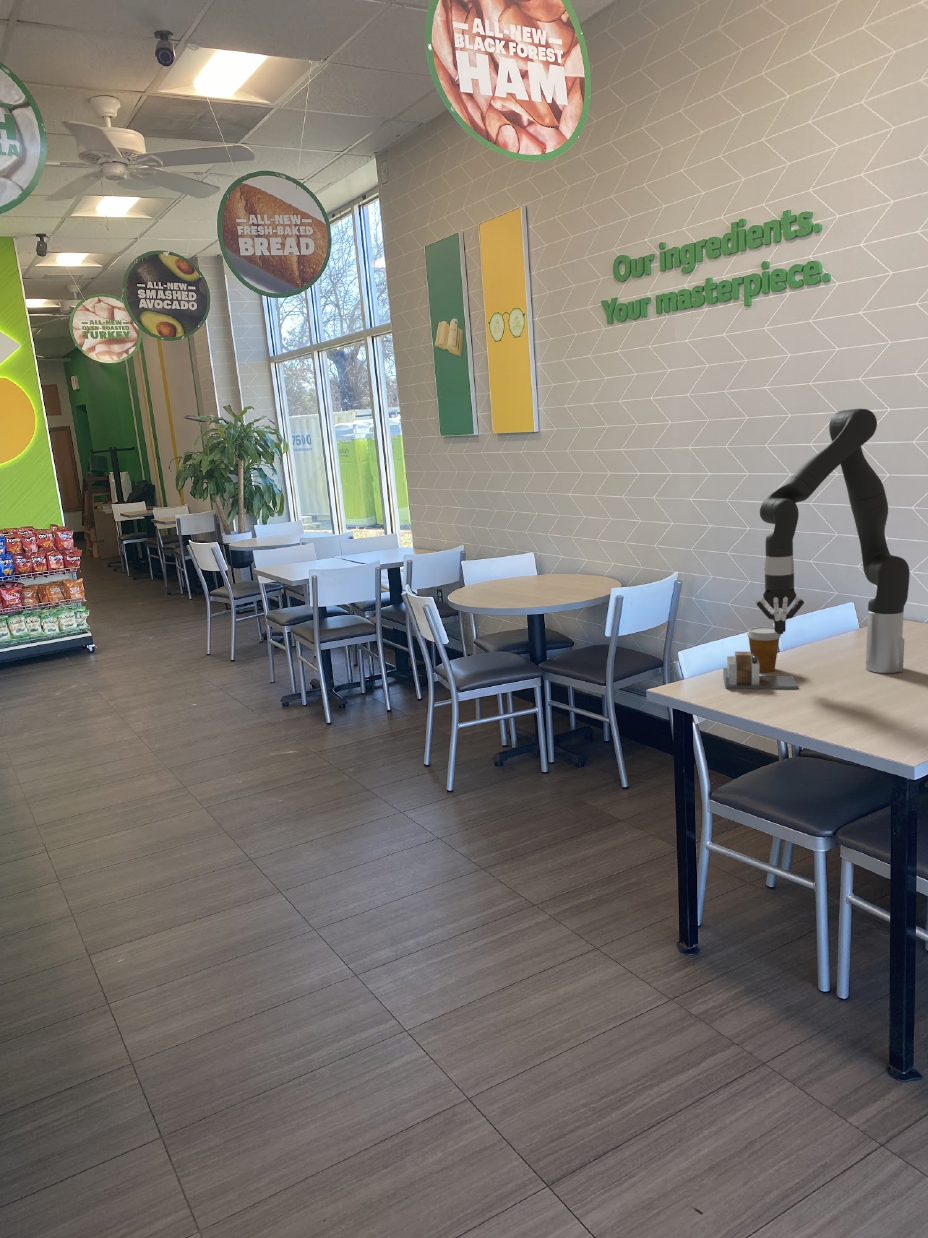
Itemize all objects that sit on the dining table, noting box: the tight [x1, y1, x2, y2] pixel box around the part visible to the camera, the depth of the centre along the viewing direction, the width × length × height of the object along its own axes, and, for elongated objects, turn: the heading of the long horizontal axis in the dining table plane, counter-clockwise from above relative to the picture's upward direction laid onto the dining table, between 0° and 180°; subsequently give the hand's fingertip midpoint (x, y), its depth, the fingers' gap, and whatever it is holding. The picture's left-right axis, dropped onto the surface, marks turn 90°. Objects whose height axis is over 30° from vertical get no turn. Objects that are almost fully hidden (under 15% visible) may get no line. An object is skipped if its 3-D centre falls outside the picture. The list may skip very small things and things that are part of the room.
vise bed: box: [722, 655, 799, 690], centre depth 252 cm, size 19×10×7 cm, turn 78°
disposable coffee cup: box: [746, 626, 782, 673], centre depth 265 cm, size 10×10×12 cm
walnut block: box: [734, 651, 751, 683], centre depth 253 cm, size 4×4×8 cm
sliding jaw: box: [751, 653, 760, 685], centre depth 252 cm, size 2×8×7 cm, turn 168°
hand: (780, 633), depth 249 cm, fingers closed
